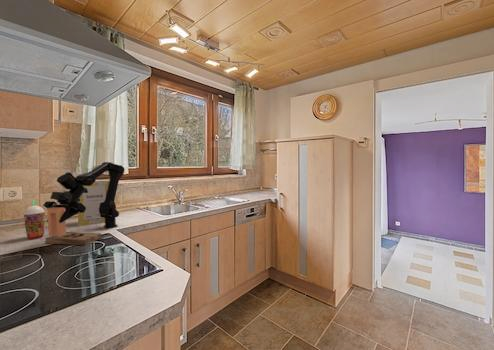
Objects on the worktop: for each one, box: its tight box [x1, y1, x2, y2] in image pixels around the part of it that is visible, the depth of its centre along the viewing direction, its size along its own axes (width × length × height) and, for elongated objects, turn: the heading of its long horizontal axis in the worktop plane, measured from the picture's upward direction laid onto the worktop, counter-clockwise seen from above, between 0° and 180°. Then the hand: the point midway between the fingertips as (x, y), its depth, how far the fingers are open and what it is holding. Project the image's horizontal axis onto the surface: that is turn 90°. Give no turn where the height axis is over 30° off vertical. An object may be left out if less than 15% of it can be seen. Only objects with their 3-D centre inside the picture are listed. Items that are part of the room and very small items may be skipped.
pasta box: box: [77, 179, 110, 227], centre depth 150 cm, size 18×10×28 cm, turn 125°
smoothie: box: [23, 199, 46, 240], centre depth 119 cm, size 8×8×20 cm
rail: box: [45, 231, 102, 246], centre depth 115 cm, size 10×22×2 cm, turn 82°
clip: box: [46, 207, 67, 237], centre depth 106 cm, size 3×6×13 cm, turn 82°
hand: (53, 222), depth 104 cm, fingers closed on clip, 6 cm apart
